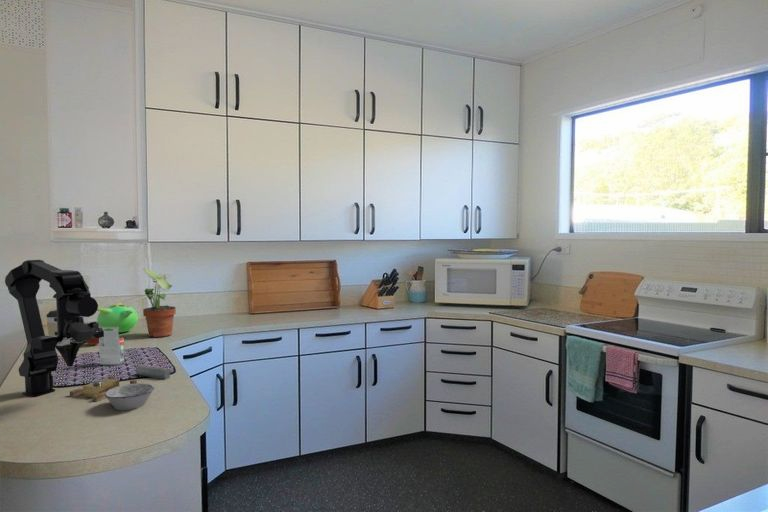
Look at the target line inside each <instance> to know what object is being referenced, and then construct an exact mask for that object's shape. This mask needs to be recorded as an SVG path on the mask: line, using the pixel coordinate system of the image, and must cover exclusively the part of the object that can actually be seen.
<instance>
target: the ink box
mask: <svg viewBox="0 0 768 512" xmlns="http://www.w3.org/2000/svg"><path fill="white" fill-rule="evenodd" d="M99 328H102V329H103V330H104V337H101V338H99V343H98V351H99V365H101V366H113V365H114V366H117V365H118V366H119V365H122V364H124V363H125V341H124V340H125V339H124V338H125V337H120V333H119V327H99ZM108 328H109V329H113V331H105V329H108Z"/></svg>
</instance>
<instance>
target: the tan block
mask: <svg viewBox="0 0 768 512" xmlns="http://www.w3.org/2000/svg"><path fill="white" fill-rule="evenodd" d="M118 386H120V379H115V378H114V379H108V378H102V379H98V380H96V381H95V380H94V381H93V382H91V383H88V384H84V385H82V387H83V394H82V395H83V397H88V398H93V396H94V395H97V394H100V393H103V392H106V391H108V390H109V389H112V388H114V387H118Z"/></svg>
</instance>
